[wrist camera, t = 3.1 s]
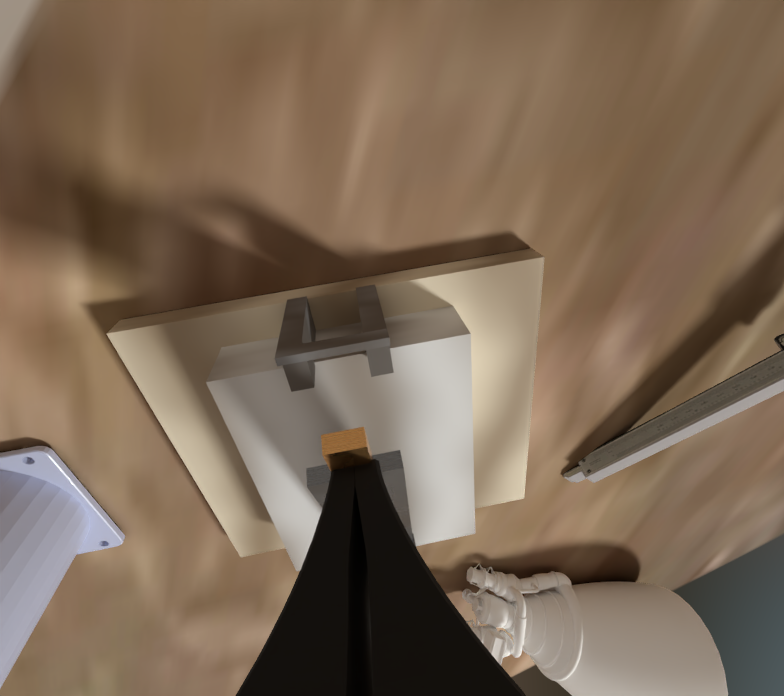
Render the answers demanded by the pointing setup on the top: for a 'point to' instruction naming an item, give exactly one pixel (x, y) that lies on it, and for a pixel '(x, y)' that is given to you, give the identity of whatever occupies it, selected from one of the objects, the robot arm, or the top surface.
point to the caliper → (686, 419)
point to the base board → (204, 327)
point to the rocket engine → (598, 634)
